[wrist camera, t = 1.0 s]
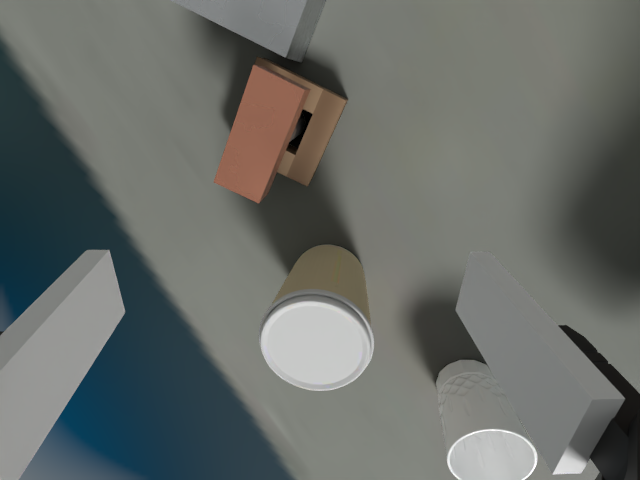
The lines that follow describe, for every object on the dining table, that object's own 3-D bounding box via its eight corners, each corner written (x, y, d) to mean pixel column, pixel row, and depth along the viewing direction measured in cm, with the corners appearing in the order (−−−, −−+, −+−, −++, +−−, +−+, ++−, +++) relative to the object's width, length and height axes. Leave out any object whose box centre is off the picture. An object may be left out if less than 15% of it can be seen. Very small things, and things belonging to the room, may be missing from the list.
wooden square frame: (348, 99, 34) (346, 100, 31) (312, 178, 37) (307, 186, 34) (266, 58, 33) (257, 56, 30) (236, 142, 36) (225, 147, 34)
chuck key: (324, 87, 33) (304, 90, 23) (290, 168, 37) (259, 203, 26) (290, 70, 33) (253, 64, 23) (258, 153, 36) (213, 182, 26)
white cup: (485, 344, 42) (518, 418, 33) (512, 394, 44) (550, 476, 35) (419, 369, 44) (432, 444, 35) (448, 415, 46) (467, 497, 37)
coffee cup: (326, 327, 43) (311, 410, 32) (268, 271, 41) (232, 339, 30) (390, 282, 40) (399, 357, 29) (331, 218, 38) (317, 274, 27)
